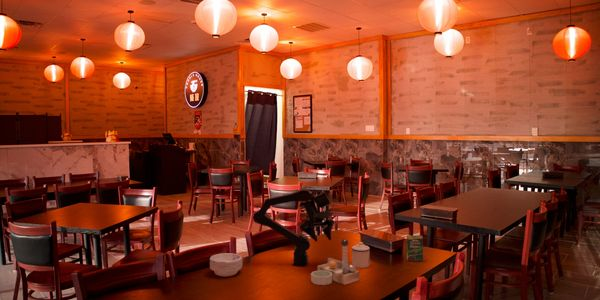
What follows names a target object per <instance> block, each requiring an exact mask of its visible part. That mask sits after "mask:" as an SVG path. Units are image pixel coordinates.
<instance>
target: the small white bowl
mask: <svg viewBox="0 0 600 300" xmlns="http://www.w3.org/2000/svg"><path fill="white" fill-rule="evenodd" d="M310 280H311V283H312V284H314V285H317V286H326V285H331V284H332V283H333V280H332V273H331V272H329V271H323V270H320V271H318V270H315V271H312V272H311V273H310Z"/></svg>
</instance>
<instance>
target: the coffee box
mask: <svg viewBox="0 0 600 300" xmlns="http://www.w3.org/2000/svg"><path fill="white" fill-rule="evenodd" d="M423 240H424V237H423V235H422V234H421V235H420V234H419V235H418V234H417V235H413V234H412V235H410V234H409V235H406V260H407V262H424V241H423Z"/></svg>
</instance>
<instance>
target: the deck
mask: <svg viewBox="0 0 600 300" xmlns="http://www.w3.org/2000/svg"><path fill="white" fill-rule="evenodd" d="M320 270H323V271H329V272H331V273H332V282H337V283H338V284H341V285H348V284H352V283H355V282H357V281H360V271H359V270H356V269H355V272H348V273H346V274H344V273H342V268H340V267H337V266H336V267H335V268H333V269H332V268H330V267H329V264H328V262H327V263H324V264H319V265H317V271H320Z"/></svg>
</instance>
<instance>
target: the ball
mask: <svg viewBox="0 0 600 300" xmlns="http://www.w3.org/2000/svg"><path fill="white" fill-rule="evenodd" d="M329 267H330V268H332V269H333V268H335V267H336V262H335V261H330V262H329Z"/></svg>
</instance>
